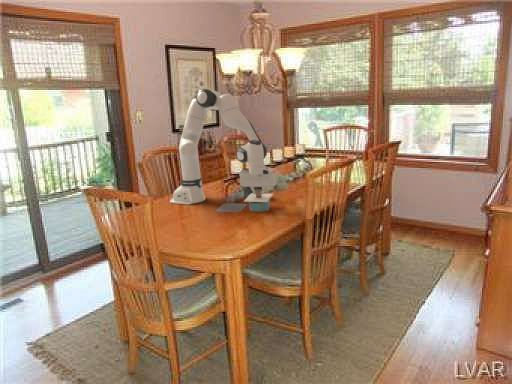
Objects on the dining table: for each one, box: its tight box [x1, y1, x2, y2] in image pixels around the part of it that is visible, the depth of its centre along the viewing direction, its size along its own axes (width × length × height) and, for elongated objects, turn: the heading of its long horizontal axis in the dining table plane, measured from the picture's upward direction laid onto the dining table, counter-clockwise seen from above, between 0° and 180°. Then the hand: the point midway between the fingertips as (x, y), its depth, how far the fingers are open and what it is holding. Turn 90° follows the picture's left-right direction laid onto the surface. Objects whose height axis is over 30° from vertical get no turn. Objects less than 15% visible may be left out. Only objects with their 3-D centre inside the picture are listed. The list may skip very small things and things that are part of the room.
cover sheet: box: [243, 189, 274, 203], centre depth 222 cm, size 13×13×5 cm
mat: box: [214, 203, 248, 213], centre depth 229 cm, size 15×15×1 cm
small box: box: [243, 187, 263, 200], centre depth 243 cm, size 11×6×10 cm, turn 84°
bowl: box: [248, 198, 271, 213], centre depth 224 cm, size 11×11×5 cm
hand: (258, 194), depth 222 cm, fingers closed on cover sheet, 3 cm apart
